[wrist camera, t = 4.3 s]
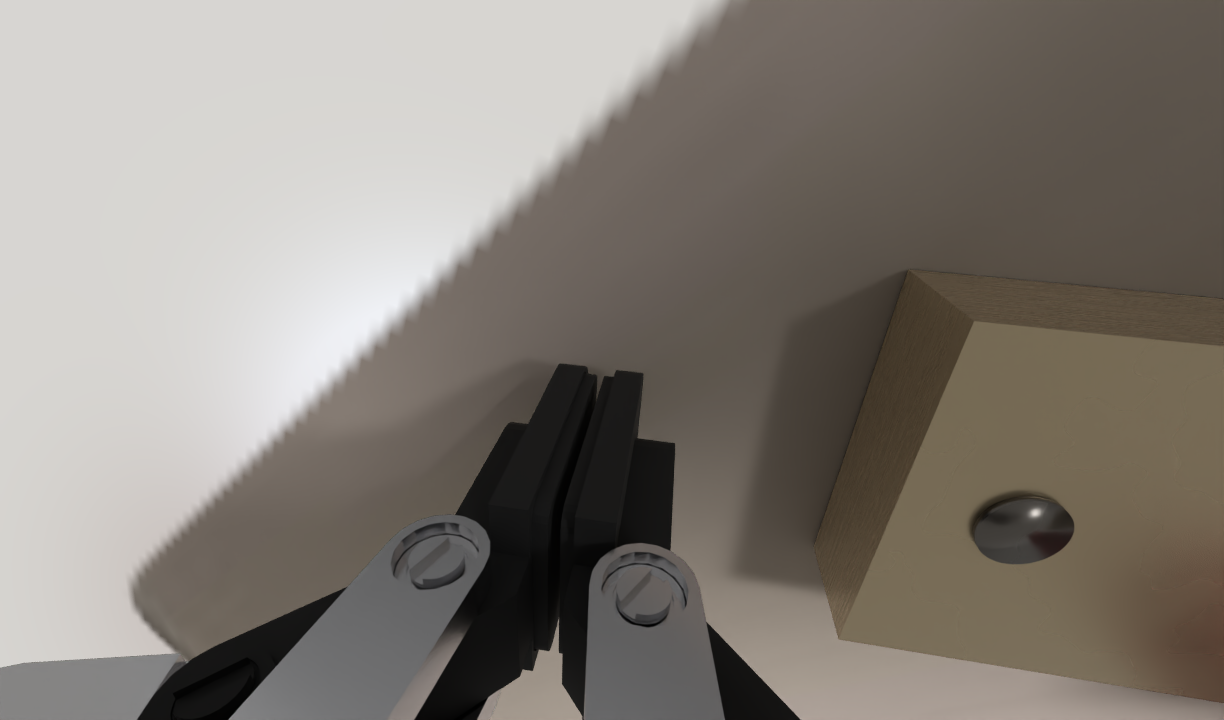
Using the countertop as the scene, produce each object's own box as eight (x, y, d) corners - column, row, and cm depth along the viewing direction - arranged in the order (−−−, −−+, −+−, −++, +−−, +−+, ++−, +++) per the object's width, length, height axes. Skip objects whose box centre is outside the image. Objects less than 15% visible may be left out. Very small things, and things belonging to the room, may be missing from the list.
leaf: (908, 269, 9) (978, 324, 7) (1419, 317, 8) (1689, 397, 6) (813, 546, 12) (840, 645, 10) (1174, 600, 11) (1289, 720, 9)
